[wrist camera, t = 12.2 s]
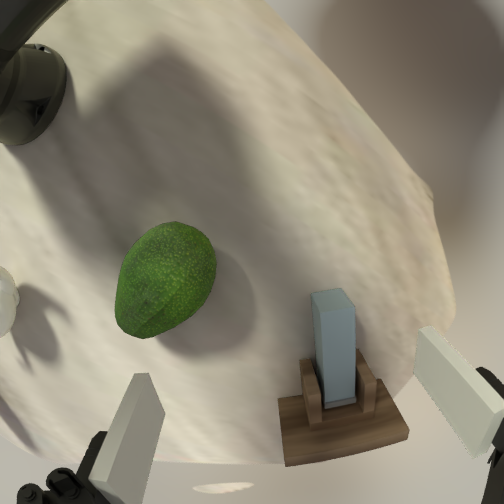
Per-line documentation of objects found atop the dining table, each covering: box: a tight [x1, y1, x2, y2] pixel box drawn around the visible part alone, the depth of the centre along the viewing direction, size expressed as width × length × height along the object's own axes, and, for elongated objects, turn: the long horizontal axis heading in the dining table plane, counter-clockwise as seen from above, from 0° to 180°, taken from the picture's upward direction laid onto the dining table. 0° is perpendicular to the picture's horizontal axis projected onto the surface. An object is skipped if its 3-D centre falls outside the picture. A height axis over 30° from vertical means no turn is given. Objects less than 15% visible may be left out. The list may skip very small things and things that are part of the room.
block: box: [311, 288, 356, 409], centre depth 38 cm, size 14×4×6 cm, turn 9°
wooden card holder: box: [278, 349, 409, 467], centre depth 37 cm, size 8×16×12 cm, turn 99°
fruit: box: [115, 222, 217, 339], centre depth 34 cm, size 15×10×10 cm, turn 138°
